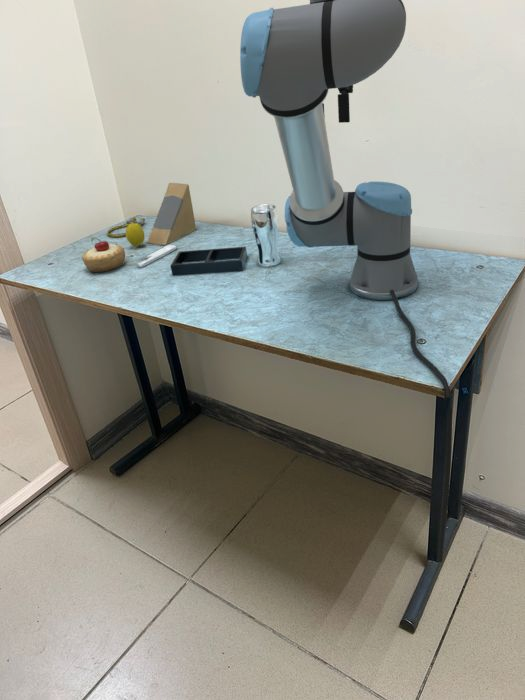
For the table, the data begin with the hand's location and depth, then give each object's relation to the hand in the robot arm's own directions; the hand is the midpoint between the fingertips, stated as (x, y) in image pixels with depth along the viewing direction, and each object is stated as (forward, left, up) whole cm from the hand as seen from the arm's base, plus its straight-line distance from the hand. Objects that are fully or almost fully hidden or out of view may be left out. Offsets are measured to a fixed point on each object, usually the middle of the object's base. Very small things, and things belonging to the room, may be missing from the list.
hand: (332, 127), depth 133 cm
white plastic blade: (+5, +54, -32) cm, 63 cm away
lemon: (+15, +62, -32) cm, 71 cm away
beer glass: (-6, +19, -32) cm, 37 cm away
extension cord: (+33, +71, -32) cm, 85 cm away
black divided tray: (-5, +35, -32) cm, 47 cm away
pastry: (0, +67, -32) cm, 74 cm away
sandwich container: (+23, +53, -32) cm, 66 cm away
